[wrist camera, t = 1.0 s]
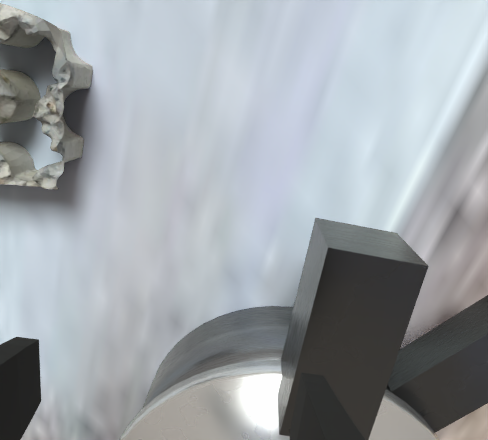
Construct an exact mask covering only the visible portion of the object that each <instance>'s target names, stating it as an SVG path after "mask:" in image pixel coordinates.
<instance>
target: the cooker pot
mask: <svg viewBox="0 0 488 440" xmlns="http://www.w3.org/2000/svg"><path fill="white" fill-rule="evenodd" d="M292 312H293V307H277V306H269V307H255V308H249V309H244V310H239V311H235V312H232V313H228V314H225V315H222V316H219V317H217V318H215V319H213V320H211V321H208V322H206V323H204V324H203V325H201V326H199V327H198V328H196V329H195V330H193V331H191V332H190V333H189V334H188V335H186V336H185V337H184V338H183V339H182V340H180V341H179V342H178V343H177V344H176V345H175V346H174V348H173V349H172V350H171V351H170V352H169V353H168V354H167V356H166V357H165V359H164V360H163V362H162V363H161V365H160V367H159V369H158V371H157V373H156V375H155V378H154V380H153V382H152V385H151V388H150V390H149V393H148V395H147V398H146V401H145V403H144V406H143V408H144V407H145V406H146V405H148V404H149V403H150V402H151V401H152V400H153V399H154V398H155V397H157V396H158V395H160V394H161V393H163V392H164V391H166V390H167V389H169V388H170V387H172V386H173V385H176V384H178V383H180V382H182V381H184V380H186V379H188V378H190V377H192V376H194V375H197V374H200V373H202V372H205V371H208V370H211V369H214V368H217V367H222V366H226V365H231V364H236V363H240V362H249V361H259V360H281V357H282V353H283V349H284V345H285V341H286V336H287V332H288V328H289V324H290V320H291V316H292ZM386 389H388V390H389V391H391V392H392V393H394V394H395V395H396V396H398V397H399V398H401V399H402V400H404V401H405V402H407V403H408V404H409V405H410V406H411V407H412V408H413V409H414V410H415V411H416V412H417V413H418V414H420V415H421V416H422V417H423V418H424V420H425V421H426V422H427V423H428V425H429V426H430V427H431V428H432V430H433V431H434V432H437V431H439V430H440V429H442V428H444V427H446V426H448V425H449V424H451V423H453V422H455V421H456V420H458V419H460V418H462V417H464V416H465V415H467V414H469V413H471V412H473V411H474V410H476V409H478V408H480V407H482V406H483V405H485V404H487V403H488V295H487V296H486V297H484V298H482V299H481V300H479V301H478V302H476V303H474V304H473V305H471V306H470V307H468V308H466V309H465V310H463V311H462V312H460V313H458V314H457V315H455V316H454V317H452V318H450V319H449V320H447V321H446V322H444V323H442V324H441V325H439V326H437V327H436V328H434V329H433V330H431V331H429V332H428V333H426V334H425V335H423V336H421V337H420V338H418V339H417V340H415V341H413V342H412V343H410V344H409V345H407V346H405V347H404V348H402V349H401V350H399V353H398V356H397V358H396V361H395V364H394V367H393V370H392V373H391V376H390V379H389V382H388V385H387V387H386ZM143 408H142V409H143Z"/></svg>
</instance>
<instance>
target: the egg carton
mask: <svg viewBox="0 0 488 440" xmlns="http://www.w3.org/2000/svg"><path fill="white" fill-rule="evenodd" d="M44 37H46V38H48V40H49V41H50V42H51V44H52V45H53V48H54V50H55V51H56V56H55V60H54V65H53V69H52V75H53V78H54V79H55V80H56V81H57V82H58V83H57V84H52V85H49V86H48V87H47V91H46V95H45V96H44V97H42V98H41V99H40V94H39V90H38V88H37V86H36V85H35V83H34V82H33V80H32V79H31V78H30V77H29V76H27V75H26V74H24V73H22V72H19V71H14V70H6V69H0V124H4V123H11V122H19V121H26V120H29V119H32V118H33V117H35V118H36V119H38V120H39V121H41V123H42V128H41V129H42V132H43V133H44V134H46V135H47V136H49V137H50V138H51V139H52V143H51V147H50V148H51V150H52V151H55V152H58V153H61V155H62V156H63V158H62V161H61V162H58V163H54V164H51V165H47V166H45V167H43V168H41V169H39V170H36V169H35V167H34V162H33V159H32V157H31V155H30V154H29V153H28V151H27V150H26V149H25V148H24V147H22V146H20V145H19V144H17V143H13V142H0V184H5V185H20V186H39V187H42V188H44V189H58V188H57V186H56V182H57V180H58V178H59V176H61V175H62V173H63V172H64V163H65V162H68V161H71V160H75V159H78V158H81V157H82V152H83V143H84V140H83V138H82V137H80V136H79V135H77V134H75V133H74V132H72V131H71V130H70V129H69V127H68V126H67V124H66V123H65V120H64V118H63V109H64V101H65V99H66V97H68V96H69V95H70V94H71V93H72V92H74V91H76V90H79V89H88V88H90V86H91V78H92V72H93V70H92V66H91V65H89V64H87V63H85V62H84V61H83V60H81V59H80V58H79V57H78V56H77V54H76V53H75V51H74V49H73V47H72V43H71V37H70V32H68V31H65V30H62V29H60V28H57V27H56V26H54V25H53V24H51V23H49V22H47V21H45V20H44V19H41V18H39V17H37V16H34V15H32V14H30V13H27V12H25V11H22V10H19V9H16V8H13V7H11V6H7V5H4V4H1V3H0V44H5V45H11V46H17V47H23V48H31V47H34V46H36V45H38V44H39V43H40V42H41V41H42V40H43V39H44Z"/></svg>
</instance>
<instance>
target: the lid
mask: <svg viewBox="0 0 488 440" xmlns="http://www.w3.org/2000/svg"><path fill="white" fill-rule="evenodd" d="M427 269H428V265H427V264H426V263H425V262H424V261H423V260H422V259H421V258H420V257H419V256H418V255H417V254H416V253H415V252H414V251H413V250H412V249H411V248H410V247H409V246H408V244H407V243H406V242H405V241H404V240H403V239H402V238H401V237H400V236H399V235H398V234H397V233H393V232H388V231H383V230H377V229H372V228H367V227H361V226H356V225H351V224H345V223H340V222H335V221H329V220H324V219H319V218H315V222H314V226H313V230H312V234H311V239H310V243H309V247H308V251H307V255H306V259H305V263H304V267H303V271H302V275H301V279H300V283H299V287H298V292H297V296H296V300H295V304H294V308H293V312H292V316H291V320H290V324H289V328H288V332H287V336H286V341H285V345H284V349H283V353H282V357H281V360H259V361H249V362H240V363H236V364H231V365H226V366H222V367H217V368H214V369H211V370H208V371H205V372H202V373H200V374H197V375H194V376H192V377H190V378H188V379H186V380H184V381H182V382H180V383H178V384H176V385H173V386H172V387H170V388H169V389H167V390H166V391H164V392H163V393H161V394H160V395H158V396H157V397H155V398H154V399H153V400H152V401H151V402H150V403H149V404H148V405H146V406H145V407H144V408H143V409H142V410H141V411H140V412H139V413H138V414H137V415H136V417H135V418H134V419H133V420H132V421H131V423H130V424H129V425H128V426H127V428H126V430H125V431H124V433H123V435H122V436H121V438H120V440H290V428H291V422H292V417H293V412H294V407H295V401H296V396H297V391H298V386H299V381H300V375H301V373H309V374H317V375H323V376H324V377H325V378H326V380H327V381H328V383H329V384H330V386H331V388H332V389H333V391H334V393H335V394H336V396H337V397H338V399H339V401H340V402H341V404H342V405H343V407H344V408H345V410H346V411H347V413H348V414H349V416H350V417H351V419H352V420H353V422H354V423H355V425H356V426H357V428H358V429H359V430H360V432H361V433H362V435H363V436H364V438H365V439H366V440H439V438H438V437H437V435H436V433H435V432H434V431H433V430H432V428H431V427H430V426H429V425H428V423H427V422H426V421H425V420H424V418H423V417H422V416H421V415H420V414H418V413H417V412H416V411H415V410H414V409H413V408H412V407H411V406H410V405H409V404H408V403H407V402H405V401H404V400H402V399H401V398H399V397H398V396H396V395H395V394H394V393H392V392H391V391H389V390H388V389H386V387H387V385H388V382H389V379H390V376H391V373H392V370H393V367H394V364H395V361H396V358H397V356H398V353H399V350H400V347H401V344H402V341H403V338H404V335H405V332H406V329H407V327H408V324H409V321H410V318H411V315H412V312H413V309H414V306H415V303H416V300H417V298H418V295H419V292H420V289H421V286H422V283H423V280H424V277H425V274H426V271H427Z"/></svg>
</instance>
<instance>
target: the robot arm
mask: <svg viewBox="0 0 488 440" xmlns="http://www.w3.org/2000/svg"><path fill="white" fill-rule="evenodd" d="M40 402H41V387H40V361H39V340H37V339H29V338H21V337H15V338H13V339H11V340H9V341H7V342H5V343H3V344H1V345H0V440H20V439H21V438H22V436H23V434H24V432H25V430H26V429H27V427H28V425H29V423H30V421H31V420H32V418H33V416H34V414H35V412H36V410H37V408H38V406H39V404H40ZM290 440H366V439H365V438H364V436H363V435H362V433H361V432H360V430H359V429H358V428H357V426H356V425H355V423H354V422H353V420H352V419H351V417H350V416H349V414H348V413H347V411H346V410H345V408H344V407H343V405H342V404H341V402H340V401H339V399H338V397H337V396H336V394H335V393H334V391H333V389H332V388H331V386H330V384H329V383H328V381H327V380H326V378H325V377H324V376H323V375H317V374H309V373H301V375H300V381H299V386H298V391H297V396H296V401H295V407H294V412H293V417H292V422H291V428H290Z"/></svg>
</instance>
